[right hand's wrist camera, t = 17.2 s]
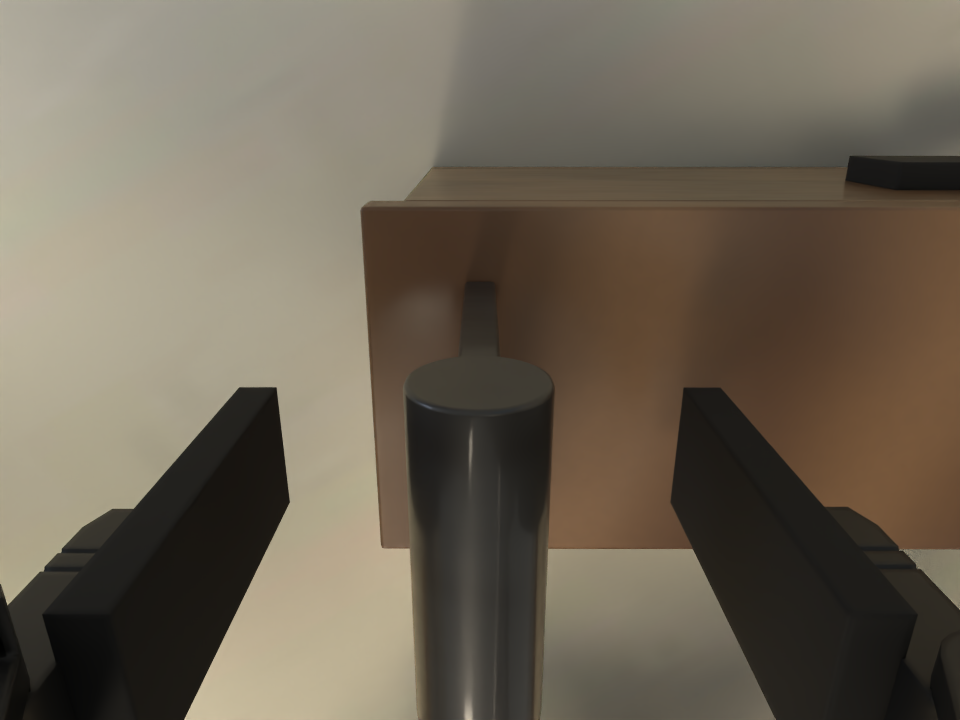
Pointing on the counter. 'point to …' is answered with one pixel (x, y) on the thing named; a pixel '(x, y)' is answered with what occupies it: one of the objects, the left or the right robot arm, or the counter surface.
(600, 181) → the chest
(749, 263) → the brown handled panel
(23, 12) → the counter surface
